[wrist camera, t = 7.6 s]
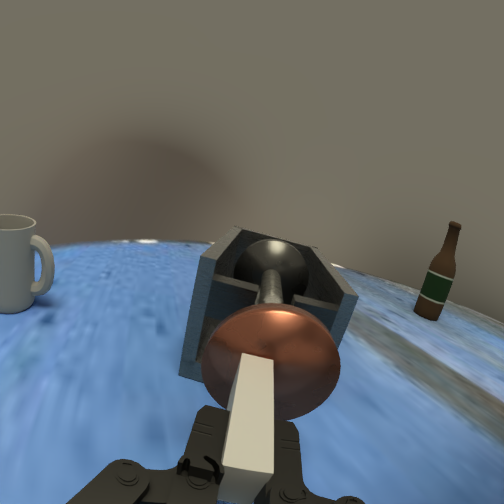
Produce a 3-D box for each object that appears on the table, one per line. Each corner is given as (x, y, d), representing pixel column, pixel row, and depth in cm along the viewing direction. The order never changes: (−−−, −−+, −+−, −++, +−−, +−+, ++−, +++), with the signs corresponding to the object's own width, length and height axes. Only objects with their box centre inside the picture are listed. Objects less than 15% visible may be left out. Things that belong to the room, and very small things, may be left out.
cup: (-2, 281, 23) (-3, 211, 22) (61, 294, 28) (65, 222, 26) (-26, 307, 17) (-32, 224, 15) (47, 325, 21) (45, 238, 19)
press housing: (310, 405, 22) (358, 296, 20) (178, 374, 22) (200, 255, 20) (294, 316, 41) (316, 247, 39) (217, 297, 42) (234, 225, 39)
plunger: (316, 435, 14) (374, 322, 12) (183, 408, 14) (207, 281, 12) (295, 316, 31) (316, 249, 30) (227, 298, 32) (244, 230, 30)
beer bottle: (442, 324, 54) (474, 229, 49) (417, 316, 55) (449, 218, 51) (432, 313, 61) (460, 226, 56) (408, 306, 63) (437, 217, 58)
